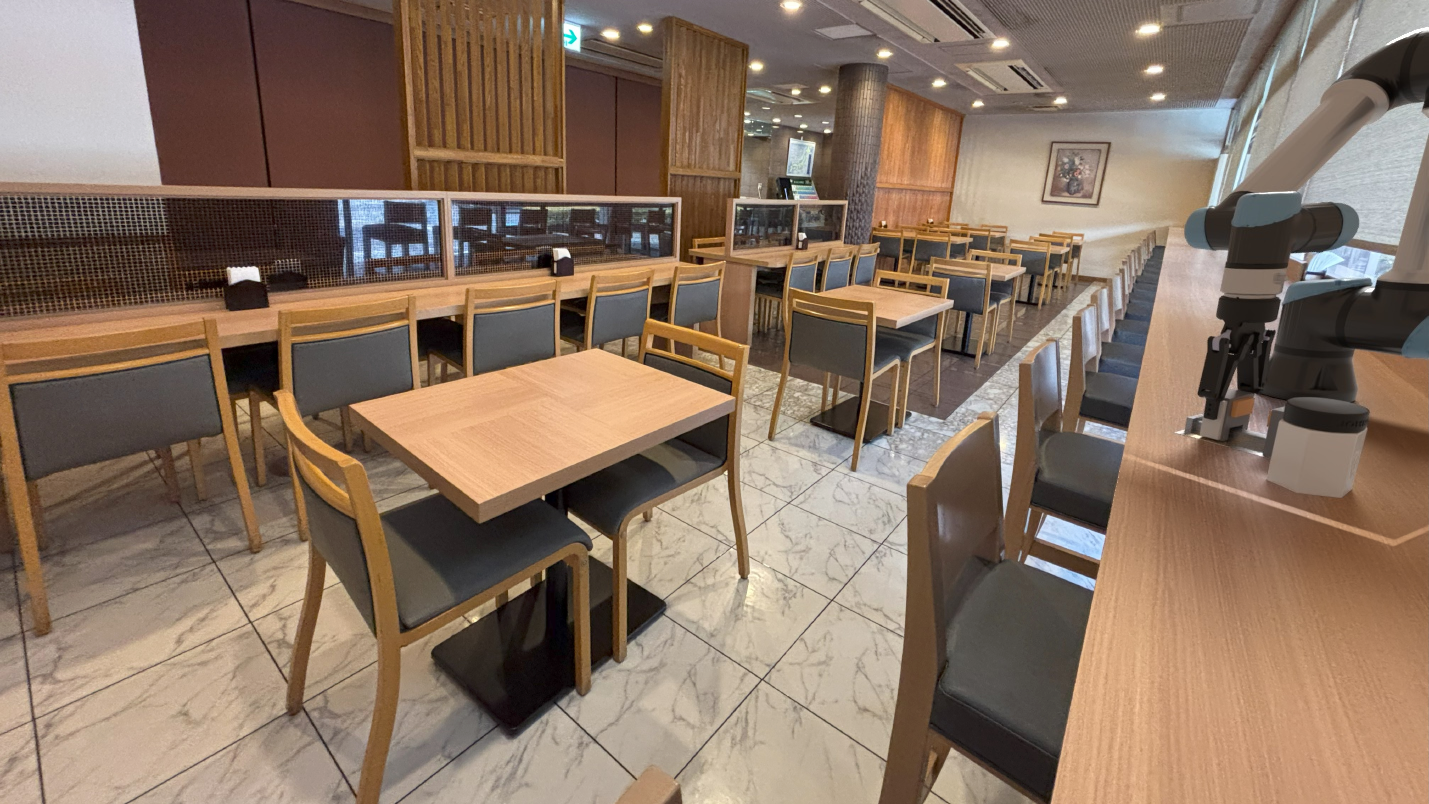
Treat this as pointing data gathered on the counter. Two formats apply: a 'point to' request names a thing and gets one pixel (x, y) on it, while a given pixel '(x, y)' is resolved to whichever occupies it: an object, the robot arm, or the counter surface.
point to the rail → (1236, 437)
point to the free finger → (1237, 411)
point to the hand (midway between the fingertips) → (1223, 433)
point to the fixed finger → (1272, 429)
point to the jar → (1318, 446)
